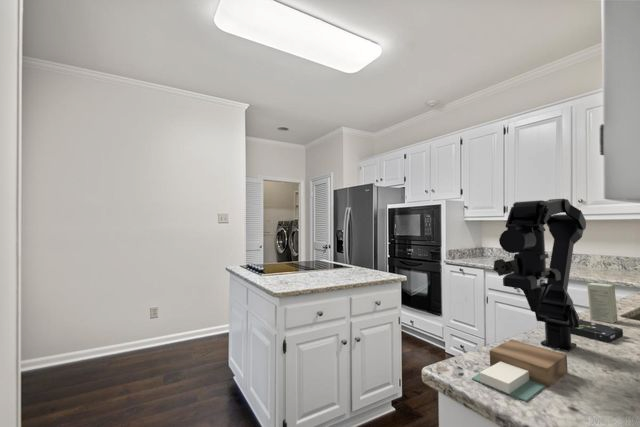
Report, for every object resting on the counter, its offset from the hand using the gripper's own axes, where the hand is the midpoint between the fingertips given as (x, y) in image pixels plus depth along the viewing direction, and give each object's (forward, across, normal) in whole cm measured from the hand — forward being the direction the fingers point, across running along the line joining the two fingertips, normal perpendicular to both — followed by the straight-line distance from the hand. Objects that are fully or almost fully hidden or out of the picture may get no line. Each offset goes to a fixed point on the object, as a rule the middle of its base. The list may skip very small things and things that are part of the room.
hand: (534, 311), depth 79 cm
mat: (+12, +18, +1) cm, 21 cm away
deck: (+12, +8, +1) cm, 14 cm away
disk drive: (+13, -32, +1) cm, 34 cm away
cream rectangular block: (+12, +18, 0) cm, 21 cm away
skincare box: (+12, -50, +1) cm, 51 cm away
